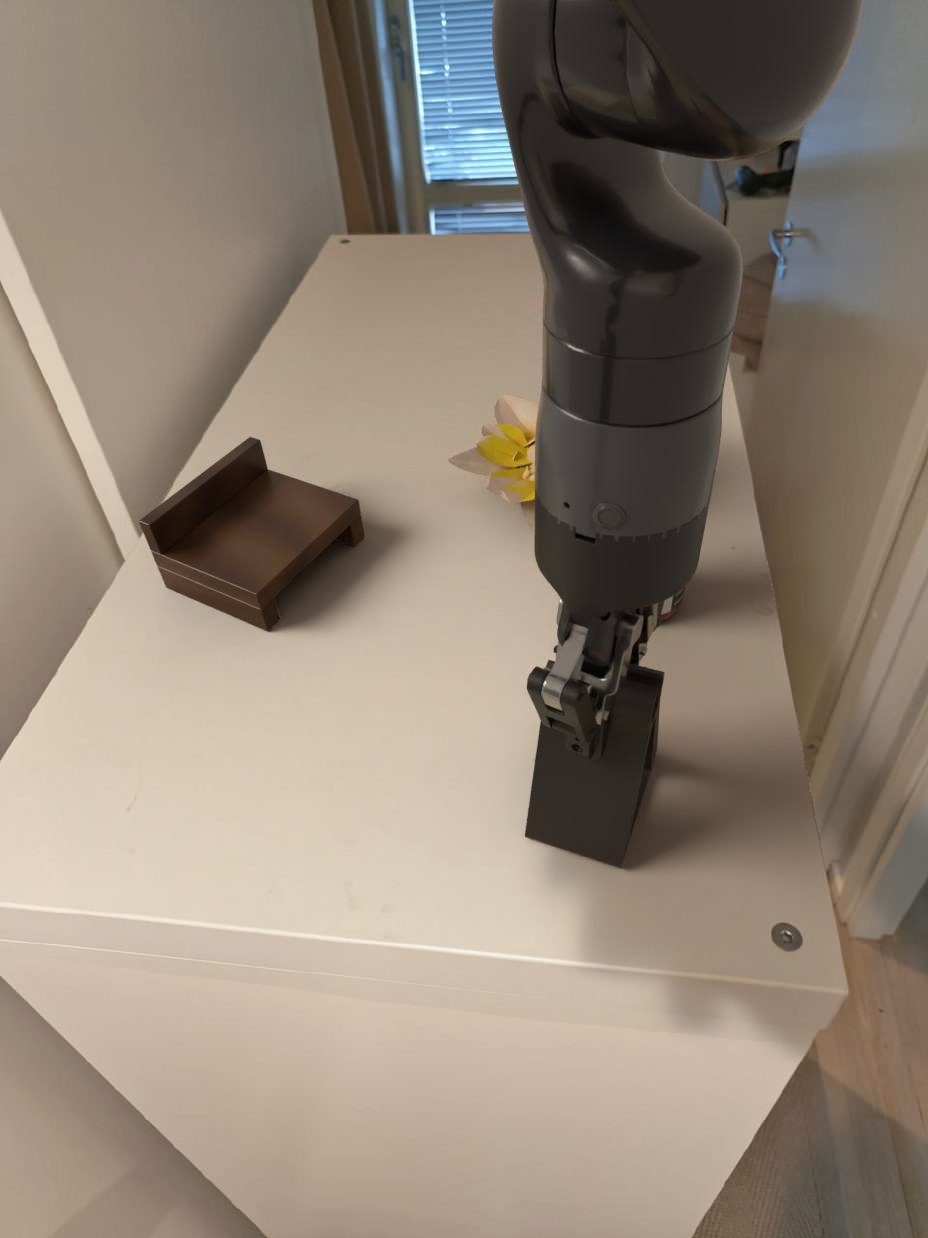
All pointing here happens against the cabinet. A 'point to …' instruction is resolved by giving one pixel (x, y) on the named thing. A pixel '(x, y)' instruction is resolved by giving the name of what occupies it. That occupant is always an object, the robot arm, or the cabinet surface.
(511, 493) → the decorative flower
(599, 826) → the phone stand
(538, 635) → the cabinet surface
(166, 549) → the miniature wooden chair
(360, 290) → the cabinet surface
